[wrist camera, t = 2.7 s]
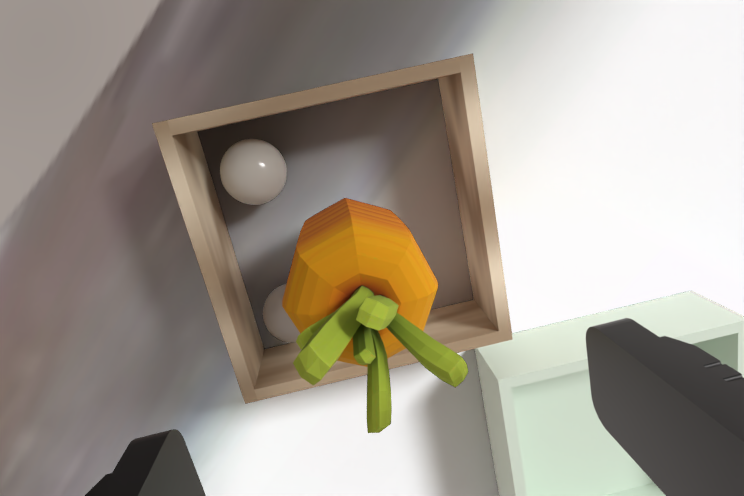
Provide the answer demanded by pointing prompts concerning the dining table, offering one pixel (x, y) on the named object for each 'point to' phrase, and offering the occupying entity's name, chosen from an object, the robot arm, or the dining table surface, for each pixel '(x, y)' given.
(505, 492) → the green tray
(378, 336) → the carrot
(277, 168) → the white ball
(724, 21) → the dining table surface
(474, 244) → the birch frame
